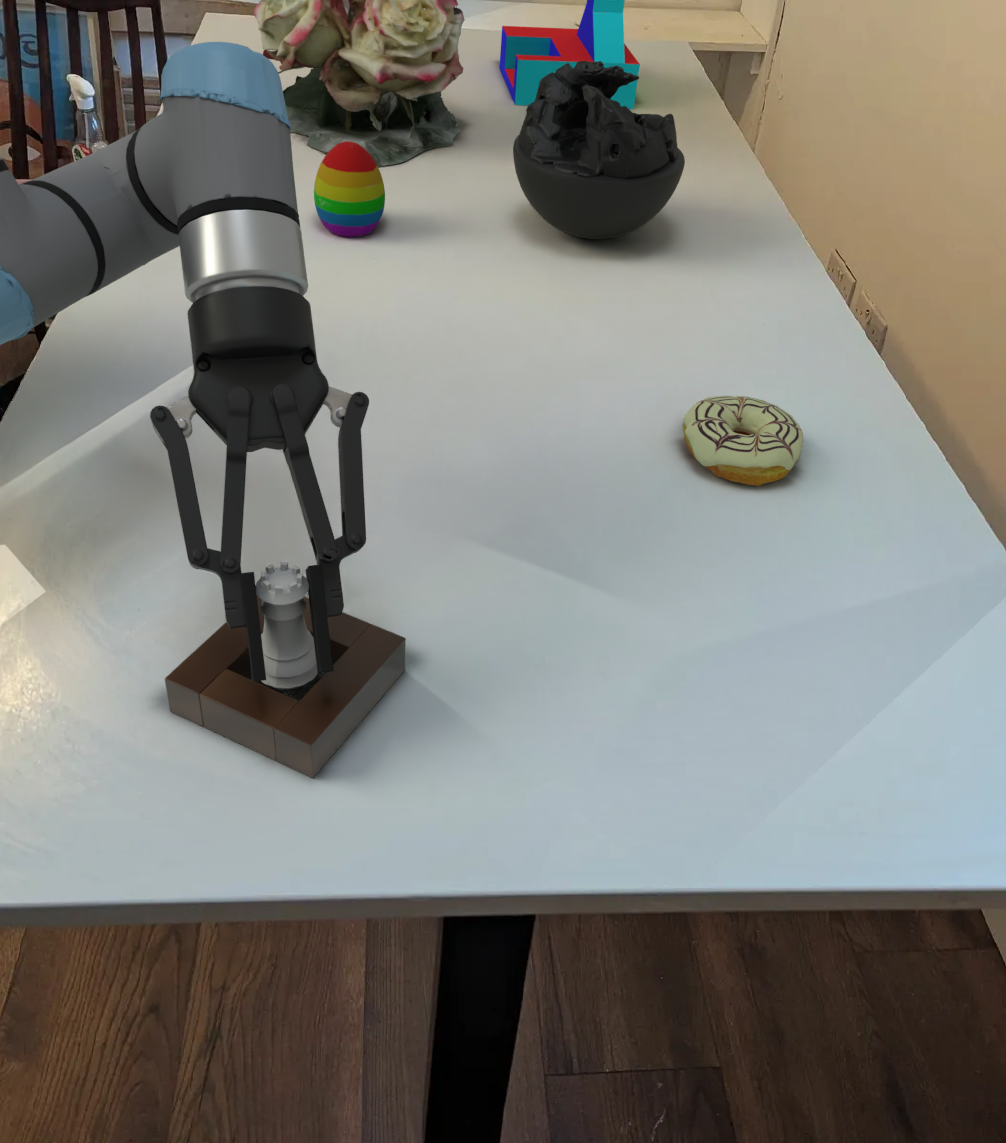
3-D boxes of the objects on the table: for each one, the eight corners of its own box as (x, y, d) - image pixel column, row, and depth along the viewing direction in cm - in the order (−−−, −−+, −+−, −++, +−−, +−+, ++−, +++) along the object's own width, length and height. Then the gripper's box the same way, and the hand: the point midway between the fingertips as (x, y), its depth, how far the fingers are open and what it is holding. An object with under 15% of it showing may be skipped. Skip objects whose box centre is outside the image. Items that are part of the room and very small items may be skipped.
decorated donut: (688, 487, 96) (695, 450, 93) (672, 420, 104) (678, 385, 102) (808, 493, 96) (819, 456, 94) (782, 426, 105) (792, 390, 102)
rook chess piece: (310, 699, 71) (305, 604, 66) (242, 686, 72) (232, 591, 67) (330, 651, 75) (327, 558, 70) (265, 640, 75) (258, 546, 70)
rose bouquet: (237, 124, 158) (218, -124, 139) (401, 93, 174) (404, -134, 155) (346, 182, 144) (341, -85, 125) (513, 142, 160) (531, -100, 141)
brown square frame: (169, 711, 72) (163, 678, 70) (271, 614, 80) (269, 581, 78) (313, 778, 69) (311, 745, 67) (405, 670, 76) (405, 637, 75)
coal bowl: (583, 189, 148) (601, 36, 136) (704, 240, 137) (734, 79, 125) (473, 224, 136) (481, 60, 124) (595, 283, 126) (617, 110, 114)
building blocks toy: (602, 62, 195) (616, -57, 183) (633, 108, 176) (651, -21, 164) (495, 58, 192) (502, -63, 181) (514, 105, 173) (524, -27, 162)
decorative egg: (325, 245, 129) (322, 157, 122) (307, 217, 134) (304, 132, 128) (393, 239, 131) (394, 153, 125) (373, 212, 137) (373, 128, 131)
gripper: (371, 313, 76) (414, 660, 74) (116, 327, 72) (156, 694, 70) (386, 274, 68) (435, 657, 67) (104, 286, 64) (148, 695, 63)
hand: (292, 675), depth 68 cm, fingers closed on rook chess piece, 3 cm apart
